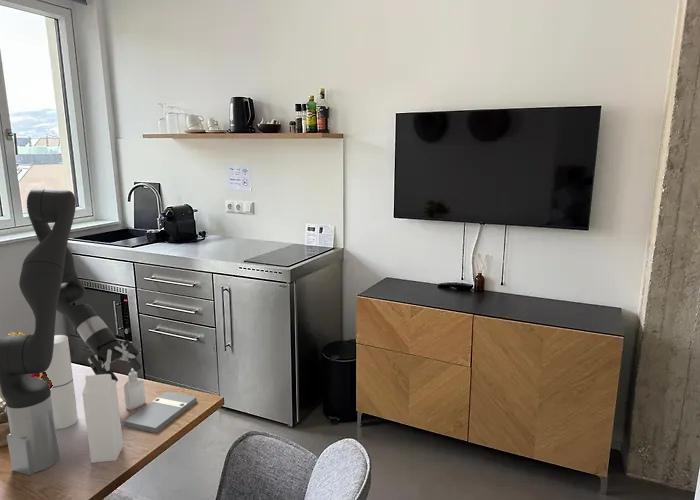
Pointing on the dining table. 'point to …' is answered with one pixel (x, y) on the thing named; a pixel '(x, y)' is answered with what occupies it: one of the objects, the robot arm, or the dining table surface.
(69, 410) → the cylindrical container
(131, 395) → the eye dropper bottle
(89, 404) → the milk
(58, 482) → the dining table surface
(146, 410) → the floor panel
